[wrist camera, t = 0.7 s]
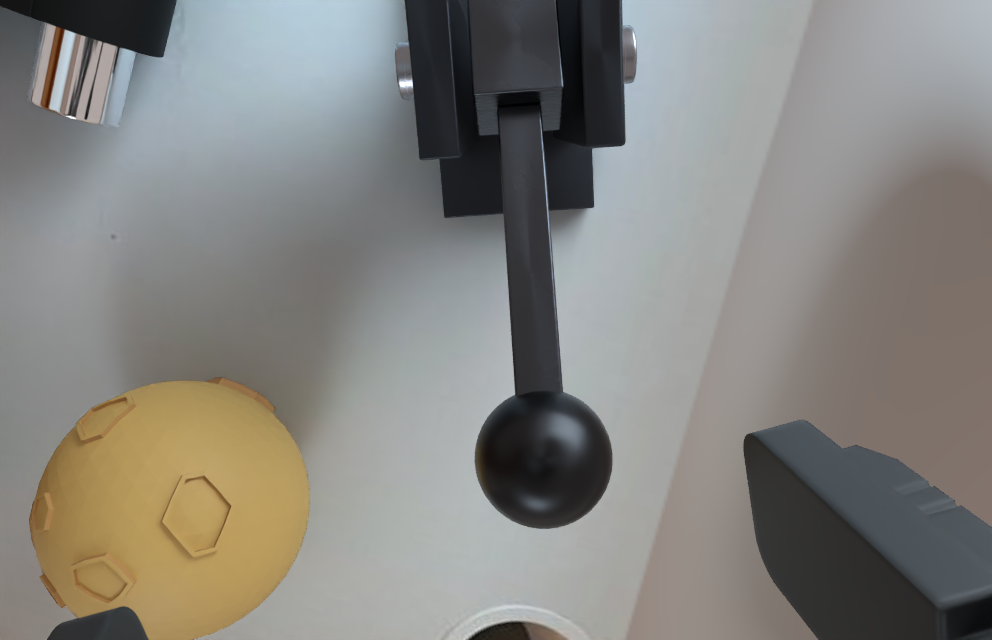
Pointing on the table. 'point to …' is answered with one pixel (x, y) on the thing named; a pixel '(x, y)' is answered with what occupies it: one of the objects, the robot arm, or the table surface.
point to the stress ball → (172, 507)
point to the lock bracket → (476, 158)
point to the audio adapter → (91, 52)
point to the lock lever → (531, 278)
